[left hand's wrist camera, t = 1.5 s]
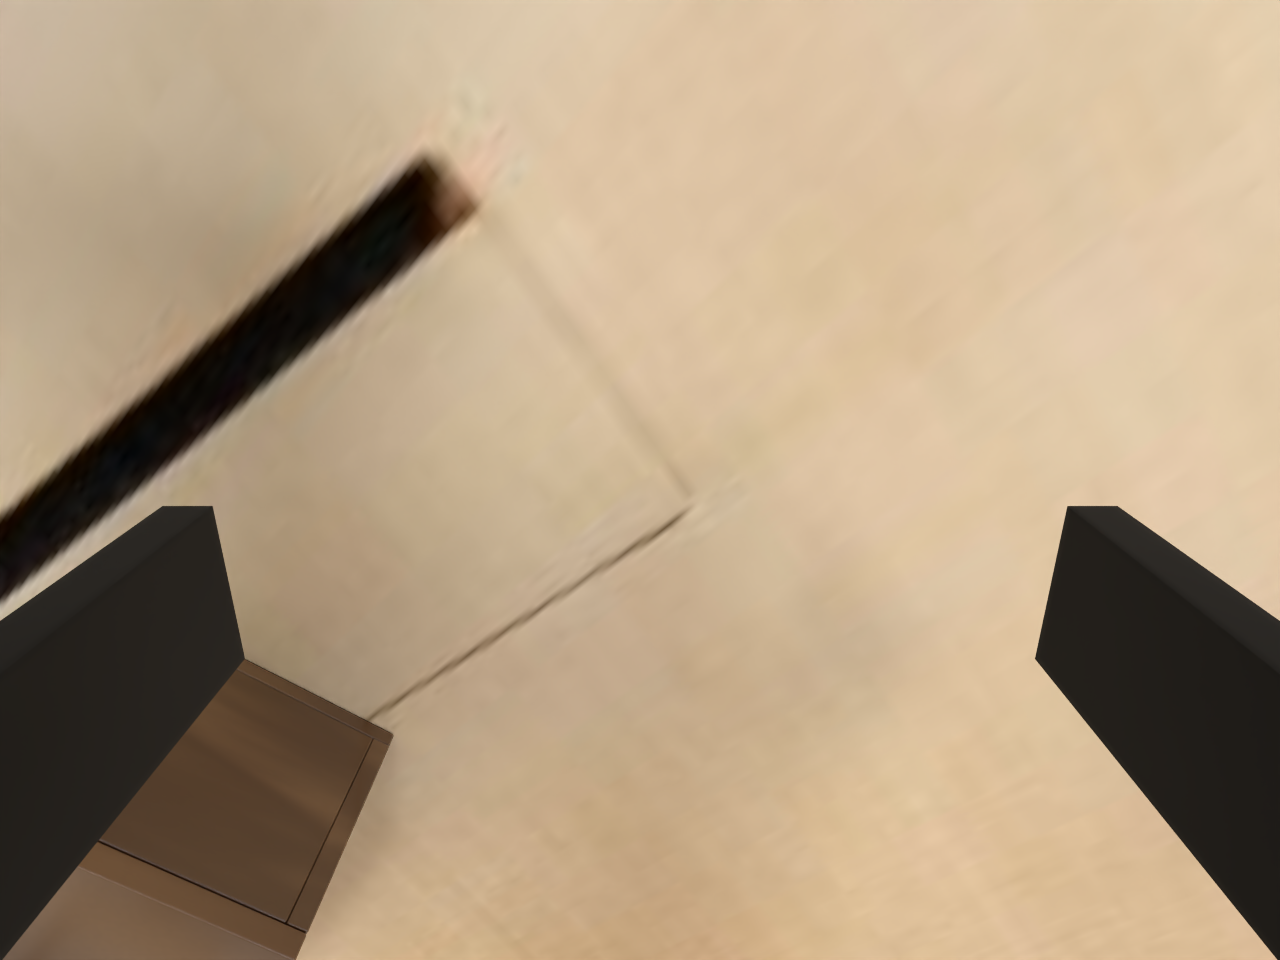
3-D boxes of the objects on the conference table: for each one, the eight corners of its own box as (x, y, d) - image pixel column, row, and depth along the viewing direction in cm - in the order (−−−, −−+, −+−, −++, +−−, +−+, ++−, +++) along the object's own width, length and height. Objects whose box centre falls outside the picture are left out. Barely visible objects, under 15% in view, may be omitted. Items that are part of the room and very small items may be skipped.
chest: (259, 934, 39) (144, 1163, 30) (73, 853, 37) (-109, 1072, 28) (394, 734, 35) (308, 931, 26) (192, 631, 33) (22, 805, 24)
